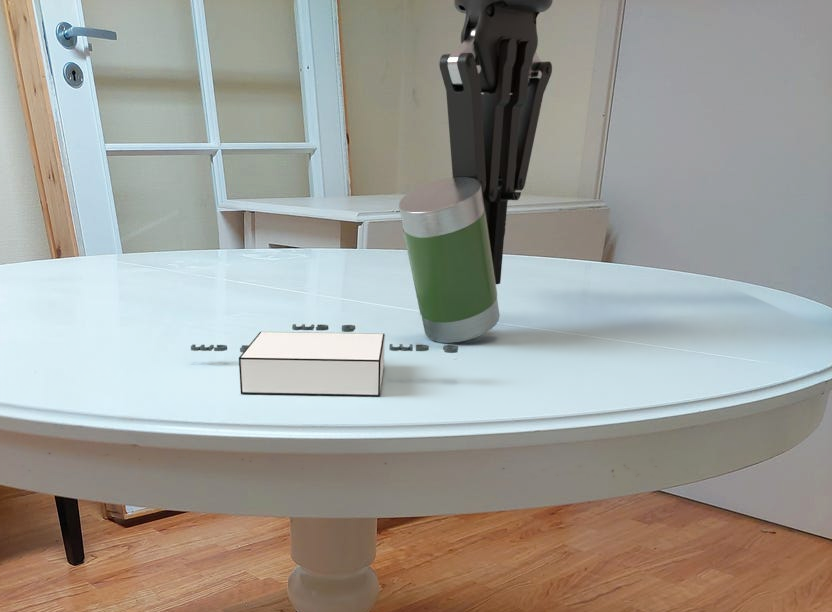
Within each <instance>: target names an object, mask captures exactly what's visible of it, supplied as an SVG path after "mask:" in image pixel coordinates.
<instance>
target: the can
mask: <svg viewBox="0 0 832 612" xmlns="http://www.w3.org/2000/svg"><path fill="white" fill-rule="evenodd" d="M398 208H399V214H400V219H401V223H402V232H403V237H404V242H405V247H406V251H407V256H408V260H409V266H410V270H411V271H410V272H411V276H412V280H413V285H414V290H415V296H416V299H417V304H418V309H419V313H420V316H421V321H422V325H423V330H424V335H425V336H426V337H427V338H428V339H429V340H431V341H434V342H437V343H443V344H451V343H460V342H461V343H462V342H465V341H470V340H472V339H476V338H477V337H478V338H479V337H481V336H482V335H485V334H487V333H488V332H489V331H490V330H492V329H493V328H494V327H496V325H497V324H498V322H499V321H500V310H499V309H500V308H499V302H498V290H497V284H496V281H495V274H494V267H493V260H492V253H491V246H490V239H489V232H488V225H487V218H486V211H485V207H484V202H483V195H482V188H481V183H480V182H479V181H478V180H476V179H474V178H468V177H455V178H453V177H448V178H443V179H439V180H435V181H432V182H428V183H425V184H423V185H420V186H418V187H416V188H414V189H412V190H411V191H409V192H408V193H406V194H405V195H404V196H403V197H402V198H401V199H400V200H399V203H398Z"/></svg>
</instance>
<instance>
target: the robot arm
mask: <svg viewBox="0 0 832 612" xmlns="http://www.w3.org/2000/svg"><path fill="white" fill-rule="evenodd" d="M453 1H454V2H453V5H454V8H455V10H457V11H458V12H459V13H461V14H465V18H464V23H463V27H462V29H461V33H460V45H459V47H457V48H456V50H455V51H454V52H453V53H446V54H445V53H444V54H442V55H441V56H440V58H439V65H438V66H439V71H440V73H441V78H442V81H443V84H444V87H445V93H446V104H447V105H446V106H447V107H446V109H447V119H448V131H449V132H448V134H449V145H450V147H449V148H450V159H451V160H450V161H451V172H452V174H451V175H452V178H455V177H468V178H474V179H476V180H478V181H479V182H480V183H481V188H482V195H483V202H484V207H485V211H486V218H487V225H488V232H489V239H490V246H491V253H492V260H493V267H494V274H495V281H496V285H500V284H501V280H502V267H503V255H504V244H505V243H504V242H505V235H506V224H507V213H508V204H509V203H508V202H509V201H519V199H520V198H521V193H522V191H523V190H524V188H525V186H526V182H527V177H528V172H529V166H530V162H531V157H532V153H533V147H534V142H535V138H536V132H537V129H538V122H539V118H540V113H541V108H542V103H543V99H544V95H545V91H546V89H547V86H548V83H549V81H550V78H551V76H552V73H553V64H552V62H551V61H541V59H540V58H539V56H538V53H537V50H538V46H539V45H538V44H539V37H538V29H537V18H538V16H539V14H540V13H543V12H546V11H547V10H549V9H550V8H551V7H552V5H553V1H554V0H453Z"/></svg>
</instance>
